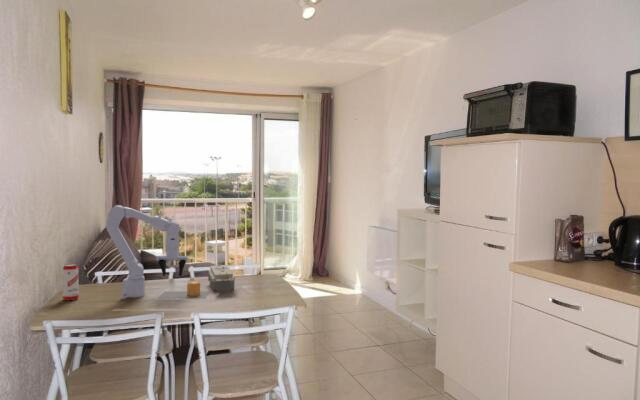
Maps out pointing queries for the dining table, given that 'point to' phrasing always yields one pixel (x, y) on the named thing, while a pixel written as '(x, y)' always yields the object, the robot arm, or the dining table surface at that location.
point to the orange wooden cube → (193, 288)
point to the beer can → (70, 282)
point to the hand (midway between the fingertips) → (172, 275)
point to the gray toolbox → (221, 278)
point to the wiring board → (182, 295)
